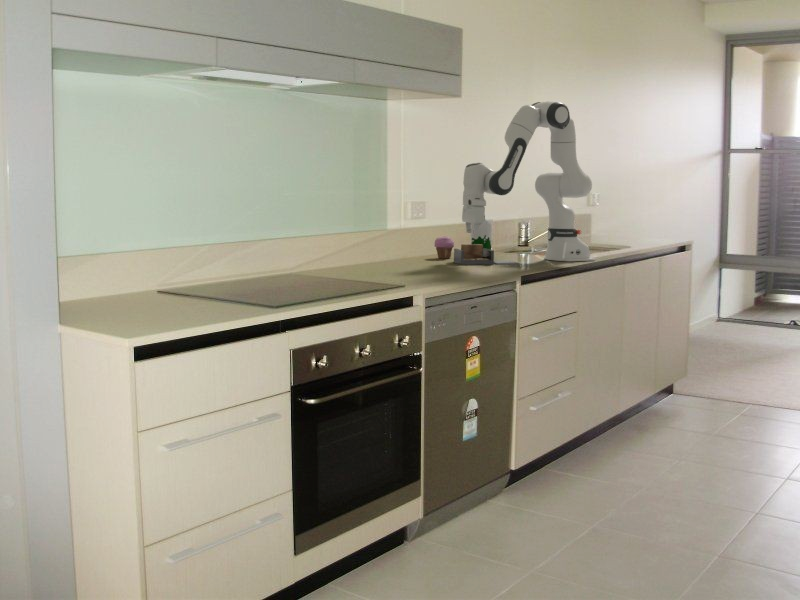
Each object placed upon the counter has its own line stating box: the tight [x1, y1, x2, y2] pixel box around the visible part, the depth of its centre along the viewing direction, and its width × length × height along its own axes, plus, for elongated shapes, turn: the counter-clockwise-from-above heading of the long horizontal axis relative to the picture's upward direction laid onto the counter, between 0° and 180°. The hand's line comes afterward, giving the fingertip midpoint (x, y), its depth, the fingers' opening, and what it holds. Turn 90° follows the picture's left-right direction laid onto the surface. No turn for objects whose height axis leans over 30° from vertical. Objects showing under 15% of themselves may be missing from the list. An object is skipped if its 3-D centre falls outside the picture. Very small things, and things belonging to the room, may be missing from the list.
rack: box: [453, 248, 495, 266], centre depth 377 cm, size 14×11×6 cm
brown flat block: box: [460, 243, 483, 259], centre depth 380 cm, size 9×2×8 cm, turn 102°
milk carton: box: [470, 214, 494, 250], centre depth 395 cm, size 9×9×20 cm
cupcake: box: [434, 236, 455, 260], centre depth 397 cm, size 9×9×10 cm
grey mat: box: [494, 260, 520, 265], centre depth 380 cm, size 10×9×1 cm
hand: (472, 233), depth 378 cm, fingers open, 8 cm apart
